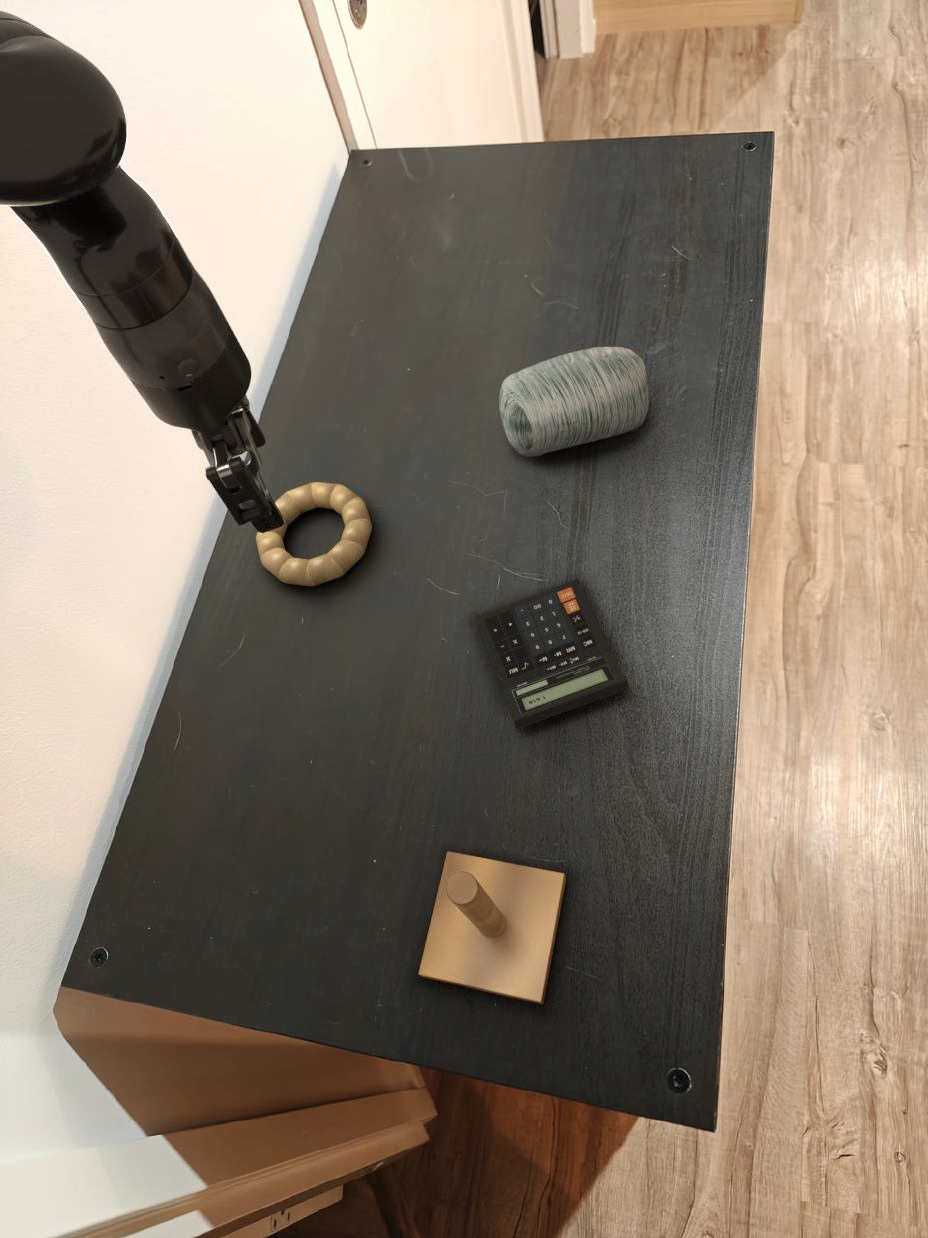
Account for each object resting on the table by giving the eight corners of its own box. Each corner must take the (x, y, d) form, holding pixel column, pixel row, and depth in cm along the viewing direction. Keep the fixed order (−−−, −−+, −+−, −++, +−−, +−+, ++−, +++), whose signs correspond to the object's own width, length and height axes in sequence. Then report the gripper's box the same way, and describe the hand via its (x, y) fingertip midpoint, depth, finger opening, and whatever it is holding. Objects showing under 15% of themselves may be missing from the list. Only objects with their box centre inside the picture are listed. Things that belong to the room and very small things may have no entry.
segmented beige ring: (247, 583, 88) (237, 570, 86) (283, 487, 93) (274, 473, 90) (355, 596, 85) (347, 583, 83) (386, 497, 90) (379, 482, 88)
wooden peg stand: (422, 977, 69) (373, 947, 57) (450, 855, 73) (410, 804, 61) (543, 1005, 66) (518, 980, 55) (566, 878, 70) (547, 829, 59)
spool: (502, 475, 84) (508, 365, 79) (491, 434, 92) (496, 331, 87) (652, 474, 85) (669, 366, 80) (628, 433, 93) (642, 332, 88)
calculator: (578, 583, 82) (576, 565, 79) (630, 699, 76) (629, 684, 73) (476, 621, 82) (470, 604, 79) (520, 739, 76) (515, 726, 73)
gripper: (109, 288, 66) (206, 435, 80) (129, 438, 58) (232, 571, 73) (211, 252, 65) (290, 406, 79) (243, 398, 58) (324, 539, 72)
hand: (262, 485), depth 76 cm, fingers open, 8 cm apart
